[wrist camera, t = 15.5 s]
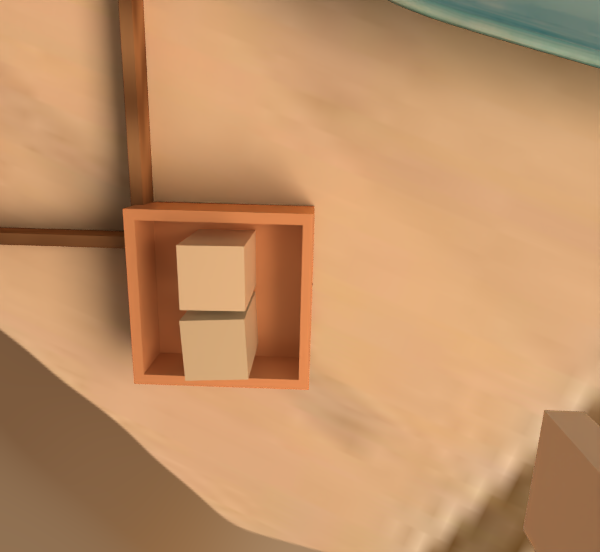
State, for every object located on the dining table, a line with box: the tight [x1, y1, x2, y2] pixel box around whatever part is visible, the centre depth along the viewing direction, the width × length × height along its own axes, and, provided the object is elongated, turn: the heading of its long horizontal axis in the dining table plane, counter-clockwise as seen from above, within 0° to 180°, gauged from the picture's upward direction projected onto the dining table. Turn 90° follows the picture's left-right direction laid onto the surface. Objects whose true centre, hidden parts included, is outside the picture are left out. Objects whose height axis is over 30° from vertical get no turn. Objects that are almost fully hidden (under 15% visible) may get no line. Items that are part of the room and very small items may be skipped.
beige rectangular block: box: [179, 292, 258, 381], centre depth 33 cm, size 4×4×6 cm
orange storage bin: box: [123, 202, 314, 390], centre depth 34 cm, size 12×12×4 cm
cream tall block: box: [176, 229, 256, 311], centre depth 32 cm, size 4×4×6 cm
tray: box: [0, 0, 153, 248], centre depth 32 cm, size 20×13×2 cm, turn 179°
